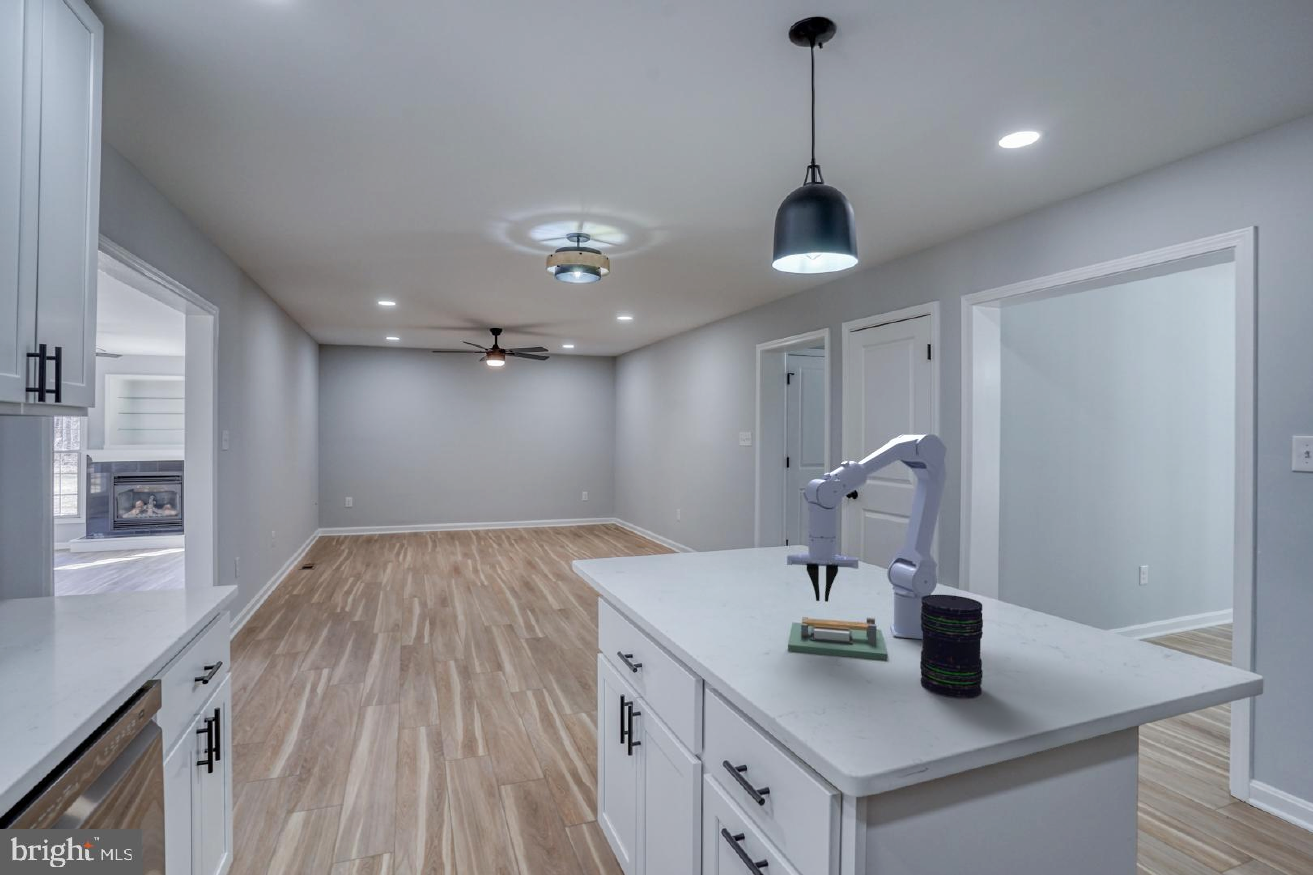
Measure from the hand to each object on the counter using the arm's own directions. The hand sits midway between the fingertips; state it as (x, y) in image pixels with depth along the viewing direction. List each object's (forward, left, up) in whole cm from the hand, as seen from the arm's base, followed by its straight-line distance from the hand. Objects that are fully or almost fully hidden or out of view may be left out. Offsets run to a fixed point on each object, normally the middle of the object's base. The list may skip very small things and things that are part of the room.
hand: (822, 600), depth 135 cm
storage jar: (-22, +19, -9) cm, 30 cm away
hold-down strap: (-3, 0, -6) cm, 7 cm away
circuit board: (-3, 0, -9) cm, 9 cm away
